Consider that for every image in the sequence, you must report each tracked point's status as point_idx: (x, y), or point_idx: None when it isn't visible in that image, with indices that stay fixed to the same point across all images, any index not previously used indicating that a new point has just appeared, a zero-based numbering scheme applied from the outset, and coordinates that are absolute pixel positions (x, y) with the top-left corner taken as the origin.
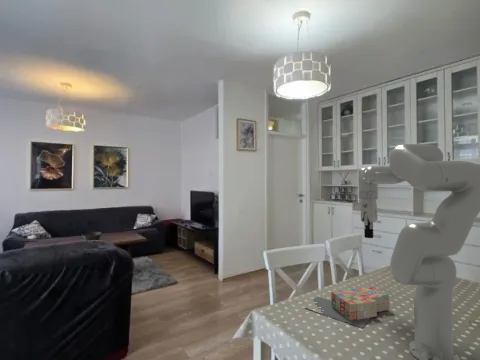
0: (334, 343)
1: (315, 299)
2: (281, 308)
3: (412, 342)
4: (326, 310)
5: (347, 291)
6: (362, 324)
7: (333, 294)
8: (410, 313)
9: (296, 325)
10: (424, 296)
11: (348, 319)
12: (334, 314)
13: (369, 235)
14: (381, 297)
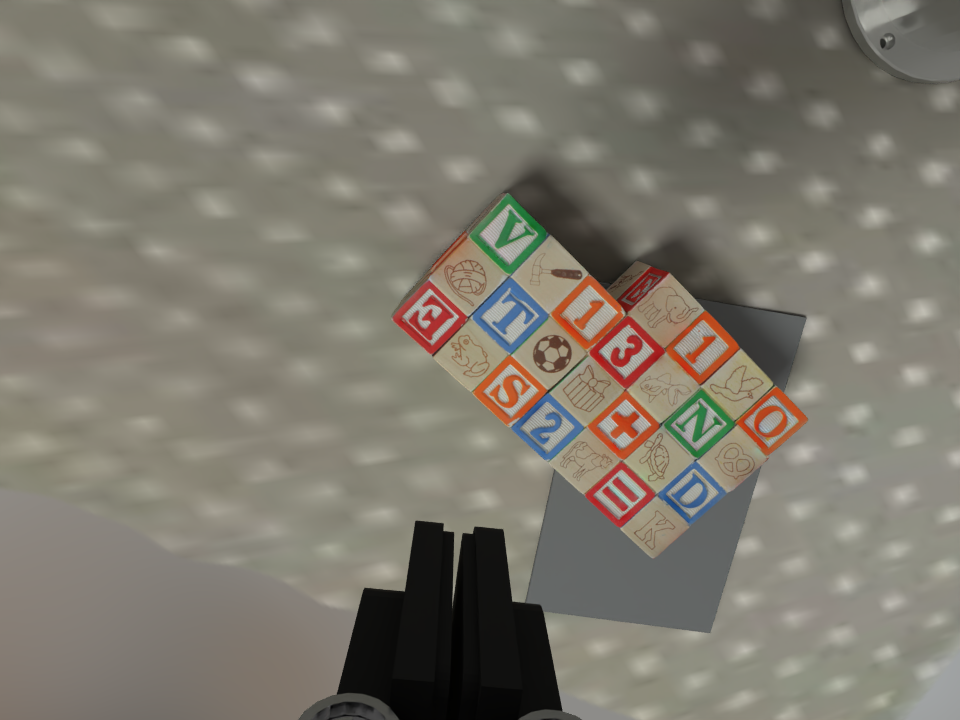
0: None
1: (573, 607)
2: (760, 714)
3: (903, 62)
4: None
5: (585, 470)
6: (771, 323)
7: (668, 538)
8: (468, 63)
9: (902, 600)
10: None
11: None
12: None
13: (541, 618)
14: (560, 244)
